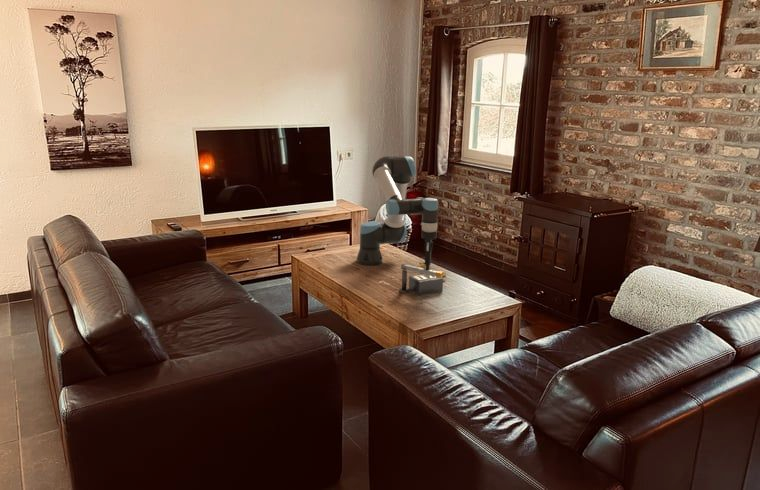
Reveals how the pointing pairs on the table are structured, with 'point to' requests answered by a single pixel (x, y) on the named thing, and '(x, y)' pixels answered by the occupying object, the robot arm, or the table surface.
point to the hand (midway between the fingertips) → (427, 276)
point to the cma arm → (422, 270)
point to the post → (404, 282)
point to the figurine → (424, 268)
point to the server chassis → (425, 284)
